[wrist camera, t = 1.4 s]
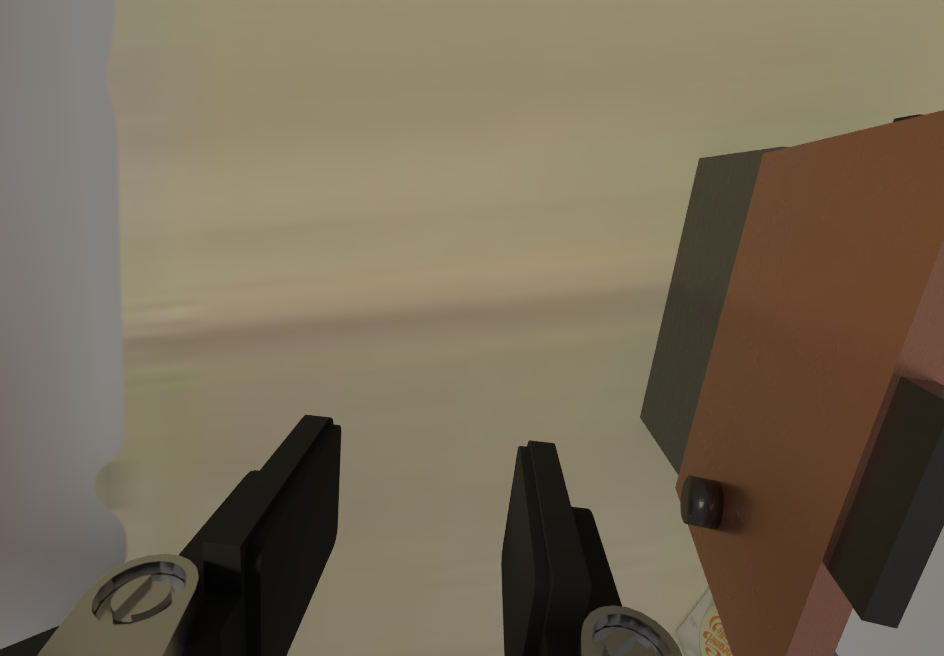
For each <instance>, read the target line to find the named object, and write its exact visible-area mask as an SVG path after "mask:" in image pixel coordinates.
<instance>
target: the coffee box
mask: <svg viewBox="0 0 944 656" xmlns="http://www.w3.org/2000/svg"><path fill="white" fill-rule="evenodd" d="M676 636H677V639H678V641H679V643H680V645H681V648H682V650H683V652H684V655H685V656H733V655H732V653H731V650H730V647H729V644H728V641H727V638H726V635H725V632H724V629H723V626H722V623H721V620H720V617H719V614H718V611H717V608H716V606H715V603H714V600H713V597H712V594H711V591H710V588H709V589H708V591H707V592H706V593H705V595H704V596H703V597H702V599H701V600H700V601H699V603H698V604H697V605H696V607H695V608H694V609H693V611H692V612H691V614H690V615H689V616H688V618H687V619H686V620H685V622H684V623H683V624H682V626H681V627H680V628H679V630H678V631H677V633H676ZM833 656H838V655H837V654H836V652H834V654H833Z"/></svg>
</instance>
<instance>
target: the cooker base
mask: <svg viewBox="0 0 944 656" xmlns="http://www.w3.org/2000/svg"><path fill="white" fill-rule="evenodd" d="M918 116H922V115H921V114H919V115H913V116H907V117H901V118H895V119H894V121H893V122H897V121H901V120H905V119H910V118H914V117H918ZM785 148H789V147H777V148H770V149H762V150H755V151H748V152H741V153H734V154H727V155H720V156H713V157H706V158H699V162H698V166H697V171H696V175H695V180H694V184H693V188H692V193H691V197H690V201H689V206H688V210H687V215H686V219H685V223H684V228H683V232H682V236H681V241H680V245H679V249H678V254H677V258H676V263H675V267H674V271H673V276H672V280H671V284H670V289H669V293H668V298H667V302H666V306H665V311H664V315H663V319H662V324H661V328H660V333H659V337H658V341H657V346H656V350H655V354H654V359H653V363H652V368H651V372H650V376H649V381H648V385H647V389H646V394H645V398H644V403H643V407H642V411H641V416H640V418H641V419H642V421H643V422H644V424H645V425H646V427H647V429H648V430H649V432H650V433H651V435H652V436H653V438H654V439H655V441H656V442H657V444H658V445H659V447H660V448H661V450H662V451H663V453H664V454H665V456H666V457H667V459H668V460H669V462H670V463H671V465H672V466H673V468H674V469H675V471H676V472H677V474H678V475H679V472H680V468H681V464H682V461H683V457H684V453H685V449H686V445H687V442H688V438H689V434H690V430H691V426H692V423H693V419H694V415H695V411H696V407H697V404H698V400H699V396H700V392H701V388H702V385H703V381H704V377H705V373H706V369H707V365H708V362H709V358H710V354H711V350H712V346H713V343H714V339H715V335H716V331H717V327H718V324H719V320H720V316H721V312H722V308H723V305H724V301H725V297H726V293H727V289H728V286H729V282H730V278H731V274H732V270H733V267H734V263H735V259H736V255H737V251H738V248H739V244H740V240H741V236H742V232H743V229H744V225H745V221H746V217H747V213H748V210H749V206H750V202H751V198H752V194H753V191H754V187H755V183H756V179H757V175H758V171H759V168H760V164H761V160H762V156H763V154H764V153H768V152H772V151H776V150H780V149H785Z"/></svg>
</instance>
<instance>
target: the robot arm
mask: <svg viewBox="0 0 944 656" xmlns="http://www.w3.org/2000/svg"><path fill="white" fill-rule="evenodd" d="M340 450H341V426H340V425H333V419H332V418H330V417H321V416H312V415H305V416H304V417H303V418H302V419H301V420H300V422H299V423H298V424H297V425H296V426H295V428H294V429H293V430H292V431H291V433H290V434H289V435H288V436H287V438H286V439H285V440H284V441H283V443H282V444H281V445H280V446H279V447H278V449H277V450H276V451H275V452H274V454H273V455H272V456H271V457H270V459H269V460H268V461H267V462H266V464H265V465H264V466H263V467H262V468H261V470H260V471H256V470H254V471H250V472H249V473H248V474H247V475H246V476H245V477H244V478H243V479H242V481H241V482H240V483H239V484H238V485H237V487H236V488H235V489H234V490H233V491H232V493H231V494H230V495H229V496H228V497H227V498H226V500H225V501H224V502H223V503H222V504H221V506H220V507H219V508H218V509H217V510H216V511H215V513H214V514H213V515H212V516H211V517H210V519H209V520H208V521H207V522H206V523H205V524H204V526H203V527H202V528H201V529H200V530H199V532H198V533H197V534H196V535H195V536H194V538H193V539H192V540H191V541H190V542H189V543H188V545H187V546H186V547H185V548H184V549H183V551H182V552H181V553H180V554H179V555H171V554H158V555H149V556H145V557H141V558H138V559H135V560H131V561H129V562H126V563H124V564H122V565H120V566H118V567H116V568H114V569H112V570H111V571H109V572H108V573H106V574H105V575H103V576H102V577H100V578H99V579H97V581H95V583H94V584H93V585H92V586H91V587H90V588H89V589H88V590H87V591H86V592H85V593H84V594H83V596H82V597H81V598H80V600H79V601H78V602H77V604H76V605H75V606H74V608H73V609H72V610H71V612H70V613H69V614H68V616H67V617H66V618H65V619H64V621H63V622H62V623H61V625H59V626H57V627H55V628H52V629H50V630H47V631H45V632H42V633H40V634H37V635H35V636H32V637H30V638H28V639H25V640H23V641H20V642H18V643H16V644H13V645H11V646H8V647H6V648H3V649H1V650H0V656H287V653H288V651H289V649H290V646H291V644H292V642H293V639H294V637H295V635H296V632H297V630H298V628H299V625H300V623H301V621H302V618H303V616H304V614H305V612H306V609H307V607H308V605H309V602H310V600H311V598H312V595H313V593H314V591H315V588H316V586H317V584H318V581H319V579H320V577H321V574H322V572H323V570H324V568H325V565H326V563H327V561H328V558H329V556H330V554H331V551H332V549H333V547H334V544H335V540H336V535H337V527H338V502H339V476H340ZM501 566H502V596H503V625H504V653H505V656H682V654H681V651H680V649H679V646H678V645H677V644H676V642H675V641H674V639H673V638H672V637H671V635H670V634H669V633H668V632H667V631H666V630H665V629H664V628H663V627H662V626H661V625H660V624H658V623H657V622H656V621H655V620H653V619H651V618H650V617H648V616H646V615H645V614H643V613H641V612H639V611H636V610H633V609H631V608H628V607H622V604H621V601H620V598H619V595H618V592H617V589H616V586H615V583H614V579H613V576H612V573H611V570H610V567H609V564H608V561H607V558H606V554H605V551H604V548H603V545H602V542H601V539H600V536H599V533H598V529H597V526H596V523H595V520H594V517H593V514H592V512H591V510H589V509H586V508H577V507H571V504H570V500H569V496H568V492H567V489H566V485H565V481H564V477H563V473H562V469H561V466H560V462H559V458H558V454H557V450H556V446H555V444H554V443H547V442H538V441H529V442H528V445H527V447H524V446H519V447H518V451H517V458H516V464H515V471H514V477H513V484H512V490H511V497H510V503H509V510H508V516H507V523H506V529H505V536H504V542H503V549H502V563H501Z"/></svg>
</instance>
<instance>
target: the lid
mask: <svg viewBox="0 0 944 656" xmlns="http://www.w3.org/2000/svg"><path fill="white" fill-rule="evenodd" d="M675 488H676V491H677V494H678V497H679V500H680V503H681V516H682V519H683V522H684V523H685V524H688V526H689V529H690V532H691V535H692V538H693V541H694V544H695V547H696V550H697V553H698V556H699V559H700V562H701V564H702V567H703V570H704V573H705V576H706V579H707V582H708V585H709V588H710V591H711V594H712V597H713V600H714V603H715V606H716V608H717V611H718V614H719V617H720V620H721V623H722V626H723V629H724V632H725V635H726V638H727V641H728V644H729V647H730V650H731V653H732V655H733V656H833V654H834V652H835V650H836V647H837V645H838V642H839V640H840V638H841V635H842V633H843V630H844V628H845V625H846V623H847V621H848V618H849V616H850V613H851V611H852V609H853V608H854V610H855V611H856V613H857V614H858V615H859V617H860V618H861V620H864V621H867V622H872V623H876V624H880V625H884V626H889V627H893V628H897V627H898V625H899V623H900V621H901V619H902V616H903V614H904V612H905V610H906V608H907V605H908V603H909V601H910V599H911V596H912V594H913V592H914V590H915V588H916V585H917V583H918V581H919V579H920V576H921V574H922V572H923V570H924V568H925V566H926V563H927V561H928V559H929V556H930V555H931V552H932V550H933V548H934V546H935V543H936V541H937V539H938V537H939V535H940V533H941V530H942V528H943V526H944V110H943V111H939V112H935V113H930V114H926V115H922V116H918V117H914V118H910V119H905V120H901V121H897V122H893V123H889V124H885V125H880V126H876V127H872V128H868V129H864V130H860V131H855V132H851V133H847V134H843V135H839V136H835V137H830V138H826V139H822V140H818V141H814V142H810V143H805V144H801V145H797V146H793V147H789V148H785V149H780V150H776V151H772V152H768V153H764V154H763V156H762V160H761V164H760V168H759V171H758V175H757V179H756V183H755V187H754V191H753V194H752V198H751V202H750V206H749V210H748V213H747V217H746V221H745V225H744V229H743V232H742V236H741V240H740V244H739V248H738V251H737V255H736V259H735V263H734V267H733V270H732V274H731V278H730V282H729V286H728V289H727V293H726V297H725V301H724V305H723V308H722V312H721V316H720V320H719V324H718V327H717V331H716V335H715V339H714V343H713V346H712V350H711V354H710V358H709V362H708V365H707V369H706V373H705V377H704V381H703V385H702V388H701V392H700V396H699V400H698V404H697V407H696V411H695V415H694V419H693V423H692V426H691V430H690V434H689V438H688V442H687V445H686V449H685V453H684V457H683V461H682V464H681V468H680V472H679V476H678V480H677V483H676V487H675Z"/></svg>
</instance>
